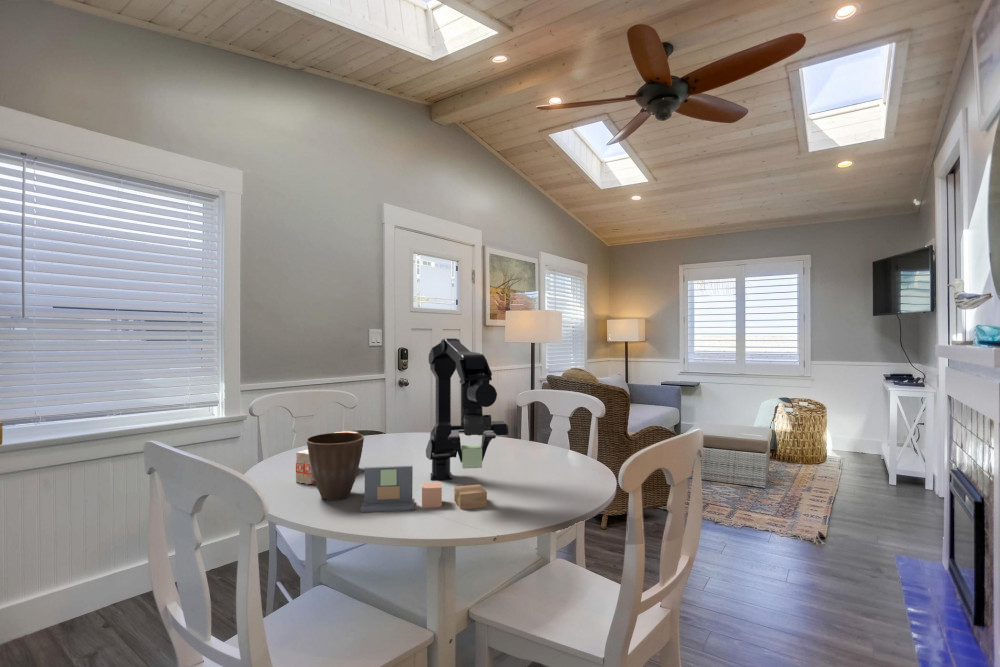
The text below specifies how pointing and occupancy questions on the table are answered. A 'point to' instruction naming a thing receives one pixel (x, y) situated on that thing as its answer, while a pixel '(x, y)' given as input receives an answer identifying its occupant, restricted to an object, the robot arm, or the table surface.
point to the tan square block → (470, 496)
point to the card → (388, 489)
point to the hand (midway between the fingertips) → (471, 461)
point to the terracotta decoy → (431, 494)
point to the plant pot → (335, 462)
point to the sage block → (471, 456)
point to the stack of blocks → (306, 465)
